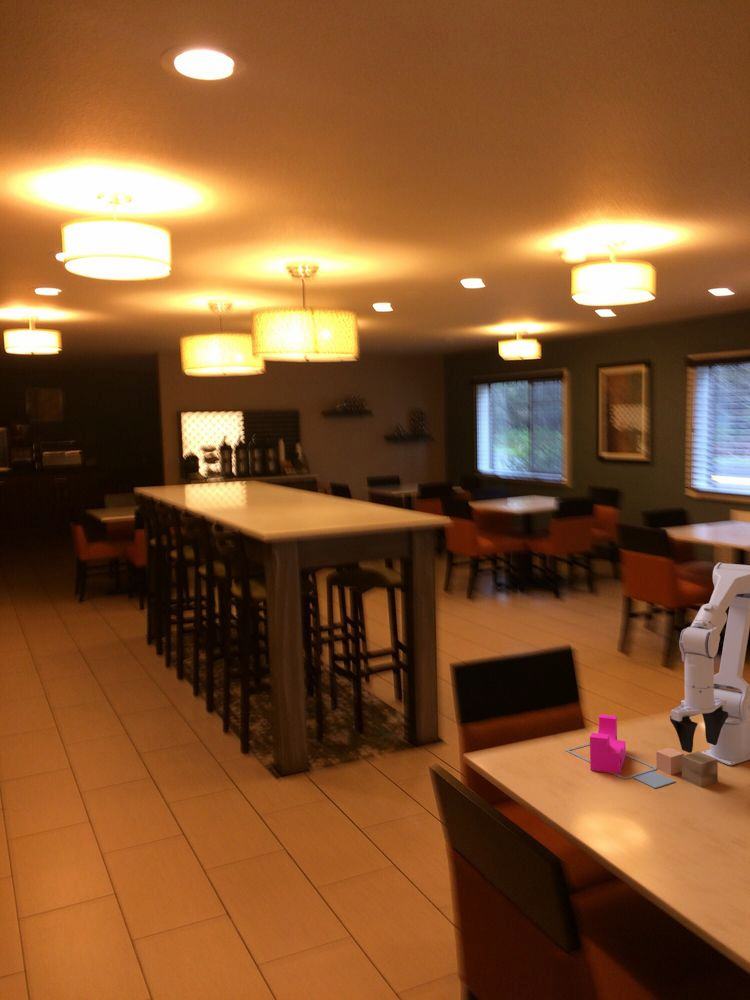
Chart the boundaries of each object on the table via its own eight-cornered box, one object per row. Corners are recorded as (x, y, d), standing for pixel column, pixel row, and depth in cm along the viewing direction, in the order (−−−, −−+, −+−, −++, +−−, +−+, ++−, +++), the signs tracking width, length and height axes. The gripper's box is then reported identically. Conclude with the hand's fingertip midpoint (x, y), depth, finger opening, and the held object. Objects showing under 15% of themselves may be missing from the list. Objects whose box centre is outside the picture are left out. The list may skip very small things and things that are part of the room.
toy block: (619, 773, 171) (619, 740, 171) (590, 769, 174) (589, 736, 173) (628, 748, 185) (627, 717, 184) (600, 745, 188) (600, 714, 187)
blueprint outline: (597, 741, 190) (597, 741, 190) (682, 779, 168) (682, 778, 168) (565, 750, 185) (565, 749, 185) (648, 790, 163) (648, 790, 163)
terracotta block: (669, 764, 176) (669, 747, 175) (683, 771, 172) (683, 753, 172) (656, 768, 174) (656, 751, 174) (670, 775, 170) (670, 757, 170)
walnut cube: (698, 773, 171) (697, 751, 170) (717, 782, 166) (717, 759, 166) (681, 779, 168) (681, 756, 168) (701, 787, 164) (701, 764, 164)
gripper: (706, 674, 173) (707, 734, 174) (659, 685, 166) (660, 748, 167) (734, 682, 166) (734, 744, 167) (686, 694, 160) (687, 759, 161)
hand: (699, 747), depth 167 cm, fingers open, 7 cm apart
